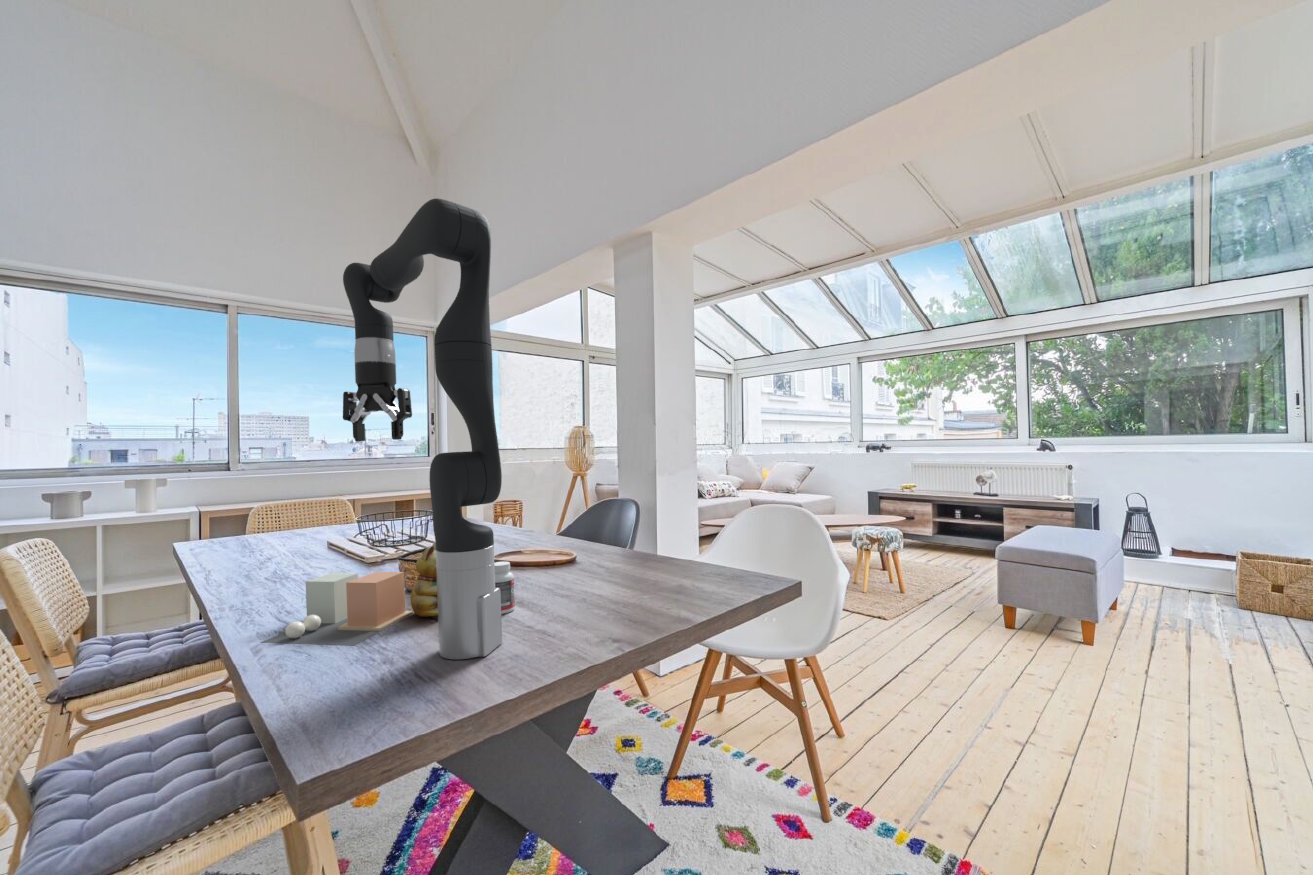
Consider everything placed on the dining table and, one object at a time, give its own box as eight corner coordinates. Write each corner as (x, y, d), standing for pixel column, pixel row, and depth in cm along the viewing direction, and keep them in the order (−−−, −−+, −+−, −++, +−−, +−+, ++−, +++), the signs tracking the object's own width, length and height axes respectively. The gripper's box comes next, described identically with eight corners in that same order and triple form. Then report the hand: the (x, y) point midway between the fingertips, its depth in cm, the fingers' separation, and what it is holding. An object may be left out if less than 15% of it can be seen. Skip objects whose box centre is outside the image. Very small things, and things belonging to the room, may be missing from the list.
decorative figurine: (443, 623, 104) (440, 546, 104) (401, 624, 104) (398, 547, 104) (461, 607, 113) (459, 537, 113) (423, 609, 113) (420, 538, 113)
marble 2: (325, 628, 102) (324, 612, 102) (312, 634, 99) (312, 617, 99) (311, 628, 103) (311, 612, 103) (298, 633, 100) (298, 617, 100)
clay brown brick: (405, 612, 109) (404, 572, 109) (377, 626, 101) (376, 582, 101) (377, 611, 110) (375, 571, 110) (347, 625, 102) (346, 582, 102)
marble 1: (309, 635, 98) (308, 619, 98) (295, 641, 95) (295, 624, 95) (295, 635, 99) (294, 618, 99) (281, 641, 96) (280, 624, 96)
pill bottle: (518, 611, 109) (516, 563, 109) (492, 617, 106) (490, 568, 106) (510, 605, 114) (508, 559, 114) (484, 610, 111) (482, 563, 111)
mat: (415, 615, 109) (414, 611, 109) (354, 647, 92) (354, 642, 92) (333, 613, 113) (333, 609, 113) (260, 644, 96) (260, 639, 96)
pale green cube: (358, 612, 111) (357, 573, 111) (335, 623, 105) (333, 581, 105) (331, 612, 112) (330, 573, 112) (307, 622, 106) (305, 581, 106)
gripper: (417, 362, 113) (420, 439, 113) (358, 366, 116) (360, 441, 116) (394, 357, 106) (397, 439, 106) (331, 362, 108) (334, 442, 108)
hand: (378, 440), depth 111 cm, fingers open, 8 cm apart
